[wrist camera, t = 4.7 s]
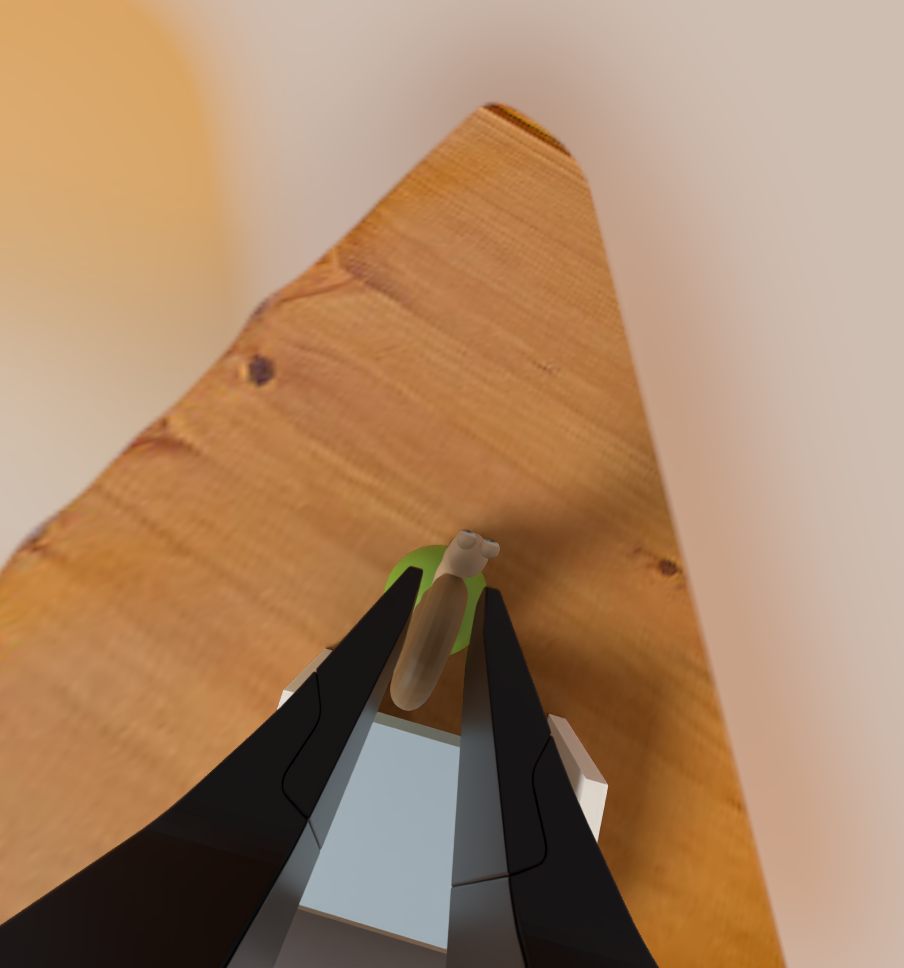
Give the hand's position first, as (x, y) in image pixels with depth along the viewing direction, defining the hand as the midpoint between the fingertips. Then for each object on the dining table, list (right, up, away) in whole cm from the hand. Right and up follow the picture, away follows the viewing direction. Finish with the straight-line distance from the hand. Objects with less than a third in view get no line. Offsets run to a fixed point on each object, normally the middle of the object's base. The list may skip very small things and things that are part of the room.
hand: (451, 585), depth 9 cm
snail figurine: (-1, -3, +11) cm, 12 cm away
